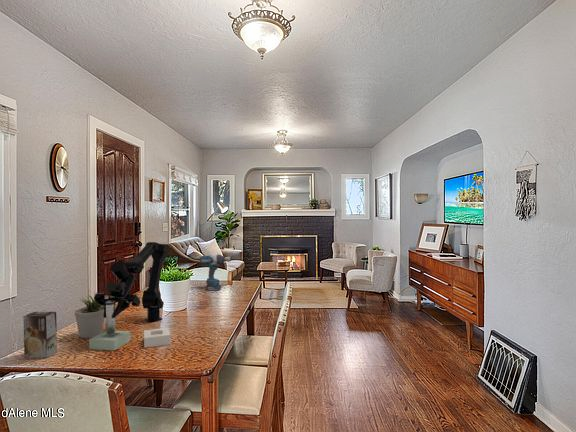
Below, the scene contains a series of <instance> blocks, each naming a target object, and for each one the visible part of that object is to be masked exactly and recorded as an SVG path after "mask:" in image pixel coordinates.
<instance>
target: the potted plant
mask: <svg viewBox="0 0 576 432" xmlns="http://www.w3.org/2000/svg"><path fill="white" fill-rule="evenodd" d="M93 293H94V295H96V294H97V293H98V291H97V292H93ZM102 293H105V291H103V292H102ZM86 298H87V300H86V299H85V298H84V297H81V298H79V300H80V301H81V302H82V303H84V304H85V305H86V306H84V307H80V308H77V309H75V310H74V311H73V313H74V316H75V321H76V326H77V331H78V335H79V338H82V339H91V338H93V337H95V336H97V335H98V334H100V333H102V332H103V331H104V330H103V329H104V328H103V327H104V323H105V318H104V317H103V315H104V305H100V304H99V303H98V302H97V301H96V300H95V299H94V297H93V296H91V295H88V296H87V295H86ZM89 298H90V299H89Z"/></svg>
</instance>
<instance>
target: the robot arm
mask: <svg viewBox="0 0 576 432" xmlns="http://www.w3.org/2000/svg"><path fill="white" fill-rule="evenodd" d="M169 251H170V248H169V246H168V245H167V244H166V243H159V242H155V241H148V242H146V243H145V246H143V248H142V249H141V250H140V251H139V252H138V253H137V254H136V256H134V257H133V258H130V259H128V260H127V261H125V260H124V259H119V260H118V261H117V262H114V263H113V264H112V265H111V266H110V268H109V270H110V271H111V273H112V274H113V276H115V278H116V279H117V280H119V281H118V282H117V283H116V282H106V285H105V288H104V293H103V292H97V294H96V293H95V294H94V296H93V300H94V299H95V300H96V301H97V302H98V303H99V305H101V306H104V315H103V317H104V319H106V301H109V300H115V303H116V302H117V305H116V306H115V311H114V313H113V315H112V318H115V319H116V317H117V316H119V315H120V314H121V313H122V312H124V311H125V310H126V309H128V308H131V306H132V307H139V306H140V305H141V304H142V308H143V309H147V318H144V321H147V322H149V323H153V322H157V321H161V320H163V317H160V313H161V312H160V310H161V309H163V308H164V305H165V304H164V301H163V300H162V298H161V295H162V294H161V292H160V290H159V289H160V288H159V287H160V281H161V274H162V269H163V264H164V261H165V259H166V258H168V254H169ZM149 257H151V258H152V263H151V269H150V275H149V276H150V277H149V281H148V287H147V288H146V289H145V290H143V291H142V297H141V299H140V298H139V296H138V295H137V294H134V293H131V292H132V290H131V288H132V286H133V284H134V283H137V281H138V280H137V278H136V276H135V275H140V274H141V273H142V271H143V270H144V268H145V263H146V262H147V260H149ZM106 292H108V294H109V295H107V294H106ZM130 304H131V306H130Z"/></svg>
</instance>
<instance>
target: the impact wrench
mask: <svg viewBox="0 0 576 432" xmlns="http://www.w3.org/2000/svg"><path fill="white" fill-rule="evenodd" d="M198 261H199V264H200V267H202V268H208V278H206V282H205V283H206V286H205V287H206V291H208V292H209V291H210V292H217V291H220V290H221V289H222V284H221V283H220V279H218V278H215V276H214V275H215V273H216V271H217V270H218V267H219V266H220V265H222V264H224V263H225V262H228V263H229V262H231V261H232V257H231V256H226V257H225V256H224V255H222V254H220V253H219V254H207V255H202V256H200V257H199V260H198Z"/></svg>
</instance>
